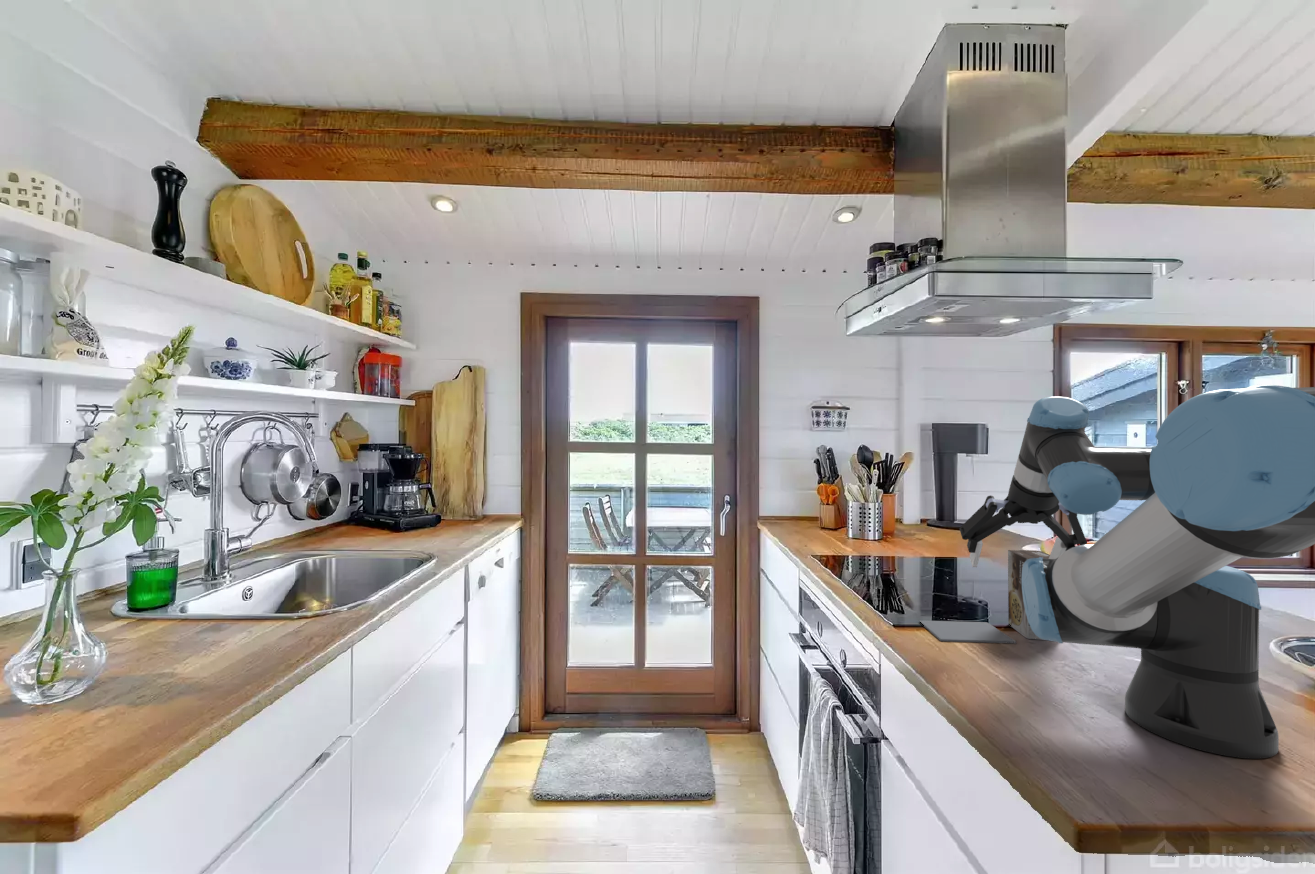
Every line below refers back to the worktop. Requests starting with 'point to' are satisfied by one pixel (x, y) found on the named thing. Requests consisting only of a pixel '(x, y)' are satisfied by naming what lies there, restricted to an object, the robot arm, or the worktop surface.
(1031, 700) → the worktop surface
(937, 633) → the mat
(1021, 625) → the coffee box
